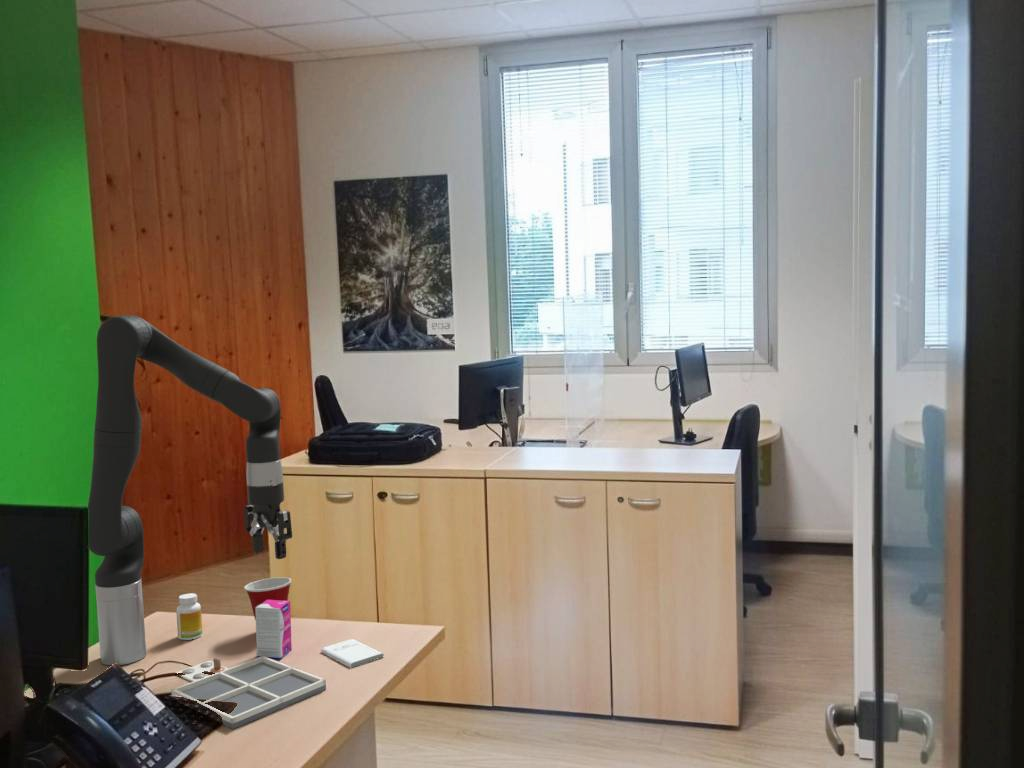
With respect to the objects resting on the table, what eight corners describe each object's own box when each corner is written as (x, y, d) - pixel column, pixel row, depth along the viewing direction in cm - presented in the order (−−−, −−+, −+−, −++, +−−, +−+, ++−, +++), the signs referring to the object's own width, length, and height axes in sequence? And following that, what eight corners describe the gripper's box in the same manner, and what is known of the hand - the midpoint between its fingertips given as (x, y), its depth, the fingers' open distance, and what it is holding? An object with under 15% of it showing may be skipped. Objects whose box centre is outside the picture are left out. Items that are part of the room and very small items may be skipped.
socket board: (171, 699, 177) (171, 689, 176) (263, 665, 192) (263, 655, 192) (232, 729, 163) (232, 718, 163) (326, 689, 179) (325, 679, 179)
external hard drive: (350, 670, 189) (321, 654, 199) (383, 660, 195) (353, 644, 204) (350, 663, 189) (320, 647, 199) (383, 652, 195) (353, 637, 204)
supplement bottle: (207, 635, 212) (204, 594, 211) (186, 642, 207) (184, 601, 207) (194, 630, 215) (191, 590, 214) (173, 637, 211) (170, 596, 210)
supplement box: (281, 660, 195) (278, 608, 194) (256, 659, 196) (253, 607, 195) (293, 650, 200) (290, 599, 199) (268, 649, 202) (265, 598, 201)
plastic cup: (270, 621, 220) (268, 572, 219) (304, 627, 215) (301, 578, 214) (236, 635, 211) (233, 585, 210) (270, 643, 205) (267, 591, 204)
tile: (175, 674, 189) (174, 661, 189) (209, 662, 195) (209, 649, 195) (196, 683, 184) (195, 670, 184) (230, 670, 190) (229, 658, 190)
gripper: (231, 481, 197) (236, 554, 198) (268, 487, 187) (273, 564, 189) (261, 475, 202) (266, 546, 204) (299, 481, 193) (303, 556, 194)
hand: (269, 555), depth 196 cm, fingers open, 8 cm apart
